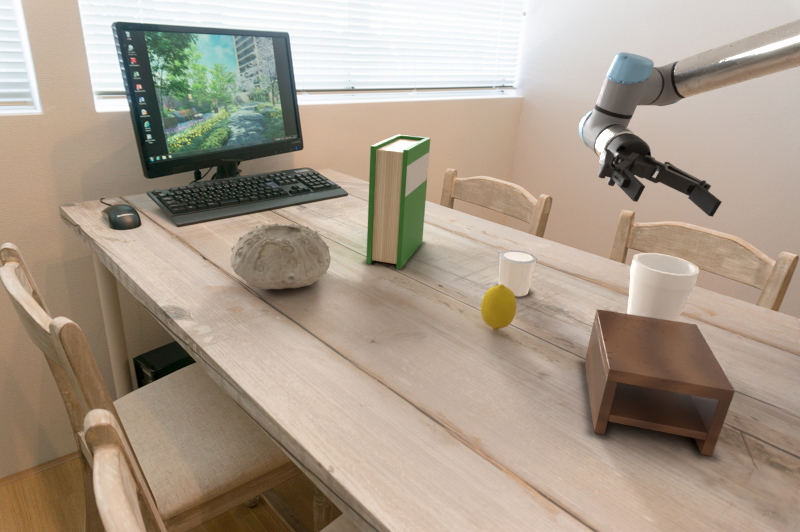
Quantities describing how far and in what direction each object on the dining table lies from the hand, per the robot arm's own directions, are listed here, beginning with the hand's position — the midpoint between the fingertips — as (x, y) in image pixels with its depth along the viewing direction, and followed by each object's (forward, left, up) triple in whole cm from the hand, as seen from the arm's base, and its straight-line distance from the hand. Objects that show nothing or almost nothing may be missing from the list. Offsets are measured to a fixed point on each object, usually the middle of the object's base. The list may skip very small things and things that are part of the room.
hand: (677, 201), depth 84 cm
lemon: (+25, +12, -22) cm, 35 cm away
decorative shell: (+65, +7, -22) cm, 69 cm away
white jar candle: (+23, -5, -22) cm, 32 cm away
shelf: (+5, +26, -21) cm, 34 cm away
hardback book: (+49, -16, -22) cm, 56 cm away
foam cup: (+1, +6, -22) cm, 22 cm away
